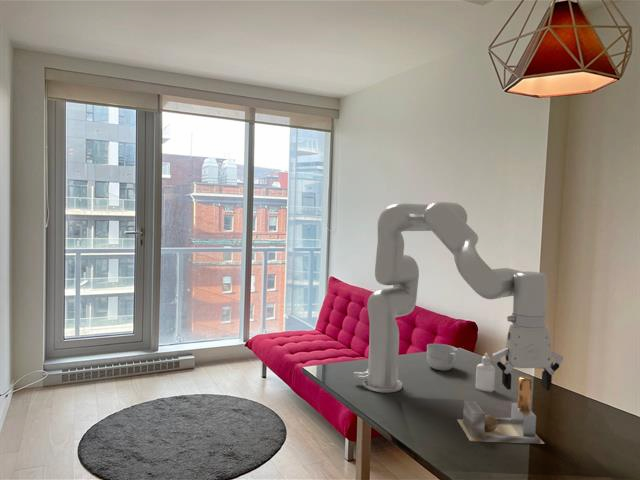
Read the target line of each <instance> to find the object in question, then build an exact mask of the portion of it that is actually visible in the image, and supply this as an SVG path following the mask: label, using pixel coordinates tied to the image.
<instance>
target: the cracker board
mask: <svg viewBox="0 0 640 480" xmlns="http://www.w3.org/2000/svg"><path fill="white" fill-rule="evenodd" d="M485 415H486V413H485V412H484V411H483V409H482V408H481V406H480V405H479V404H478V403H477V401H476V400H463V412H462V419H456V420H457V422H458V424H459V425H460V427H461V429H462V430H463V432H464V434H465V435H466V437H467V438H468V440H469V442H489V443H491V442H492V443H512V444H513V443H516V444H517V443H518V444H538V445H539V444H540V445H541V444H543V445H544V444H545V442H544V441H543V440H542V438H540V437H539V436H538V434H537V433H535V437H524V436H521V435H520V434H519V433H518V432H517V430H516V429H515V428H514V427H513V426H512V424H511V417H496V416H494V417H495V418H496V420H497V423H498V425H497V428H496V429H495V430H494V431H487V430H485V429H484V426H485Z"/></svg>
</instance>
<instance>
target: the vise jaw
mask: <svg viewBox="0 0 640 480" xmlns="http://www.w3.org/2000/svg"><path fill="white" fill-rule="evenodd" d="M532 382H533V380H532V378H531V377H529V376H525V375H521V376H518V387H517V389H518V390H517V402H511V409H510V410H511V411H510V418H511V424H512V426H513V427H514V428H515V429H516V430H517V432H518V433H519V434H520V435H521V436H524V437H535V434H536V427H537V415H536V414H535V413H534V412H533V411H532V410H531V398H532Z"/></svg>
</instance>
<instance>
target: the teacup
mask: <svg viewBox="0 0 640 480" xmlns="http://www.w3.org/2000/svg"><path fill="white" fill-rule="evenodd" d="M457 352H458V348H457V347H455V346H452V345H448V344H444V343H443V344H442V343H428V344H427V345H426V363H427V364H428V365H429V366H430V367H431V368H432V369H433V370H438V371H450V370H451V369H452V368H454V367H455V366H456V365H457V363H458V361H459V359H458V358H459V357H458V355H457Z"/></svg>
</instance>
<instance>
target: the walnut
mask: <svg viewBox="0 0 640 480" xmlns="http://www.w3.org/2000/svg"><path fill="white" fill-rule="evenodd" d="M495 417H496V416H494V415H492V414H485V426H484V429H485V430H487V431H494V430H495V429H496V428H497V425H498V423H497V420H496V418H495Z"/></svg>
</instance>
